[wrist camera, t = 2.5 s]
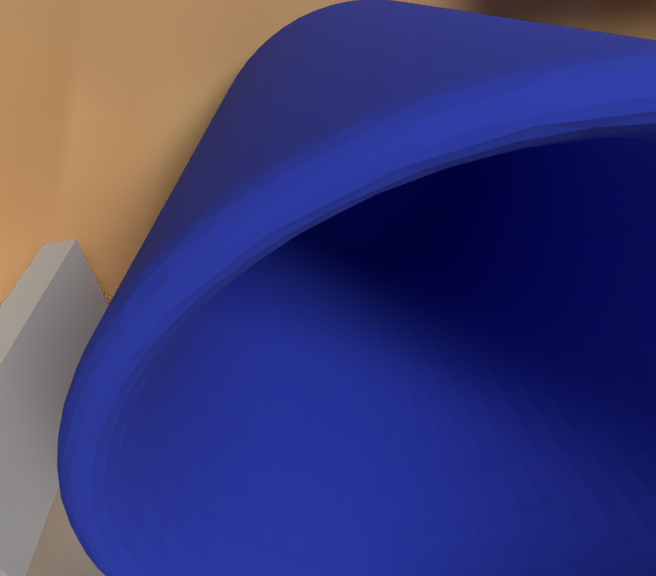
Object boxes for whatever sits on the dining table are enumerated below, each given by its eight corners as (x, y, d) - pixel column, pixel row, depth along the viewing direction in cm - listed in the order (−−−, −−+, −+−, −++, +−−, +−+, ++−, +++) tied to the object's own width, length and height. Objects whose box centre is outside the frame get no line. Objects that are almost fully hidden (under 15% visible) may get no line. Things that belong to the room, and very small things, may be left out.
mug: (190, 355, 17) (122, 752, 9) (195, -82, 10) (-133, -123, 2) (417, 366, 18) (538, 712, 10) (562, -4, 11) (1308, 171, 3)
